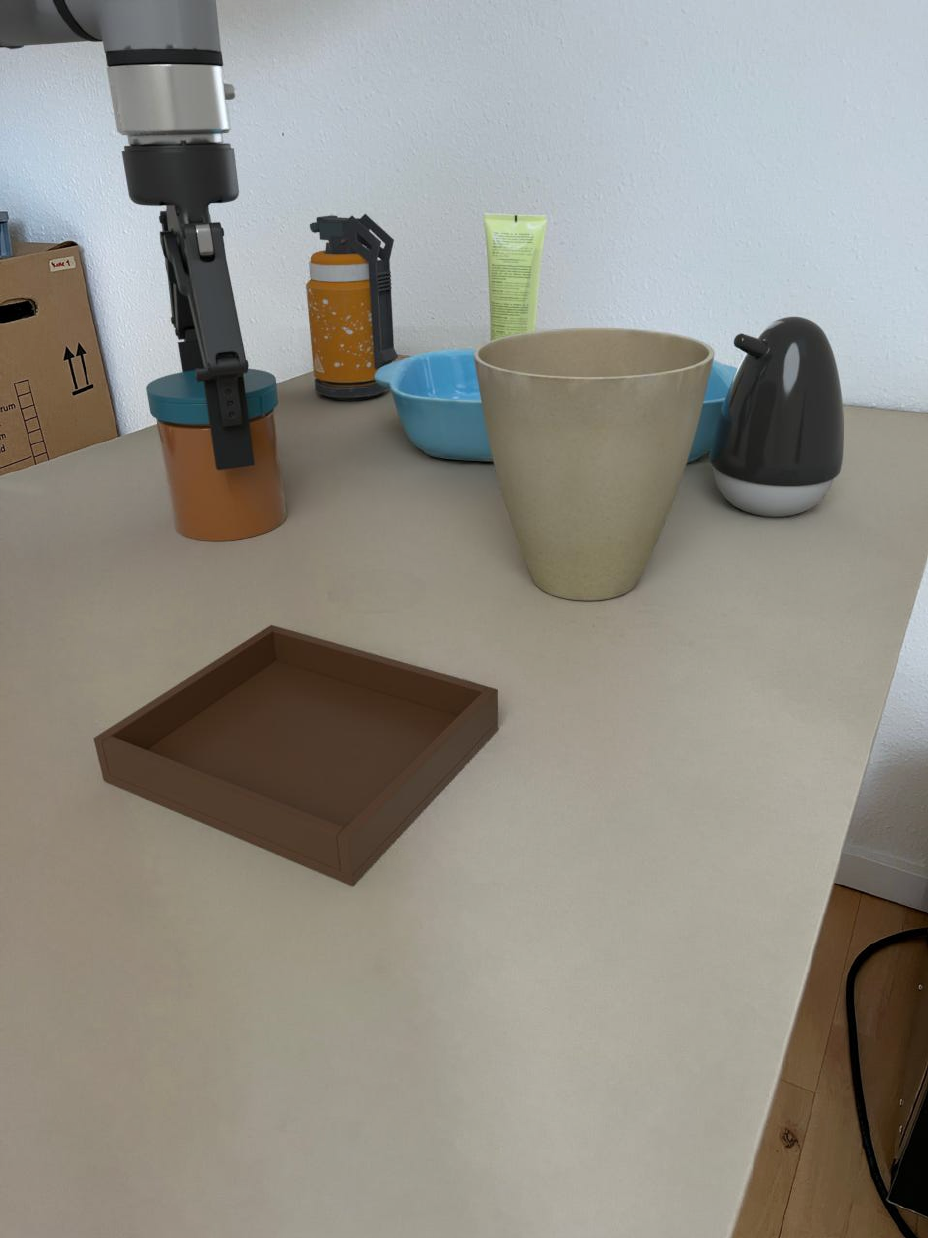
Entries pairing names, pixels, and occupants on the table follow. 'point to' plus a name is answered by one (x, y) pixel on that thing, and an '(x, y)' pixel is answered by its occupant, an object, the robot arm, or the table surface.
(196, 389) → the lid
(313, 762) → the tray
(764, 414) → the pump dispenser
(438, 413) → the casserole dish
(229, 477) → the jam jar
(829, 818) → the table surface
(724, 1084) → the table surface
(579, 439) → the plant pot
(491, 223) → the tube
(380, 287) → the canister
